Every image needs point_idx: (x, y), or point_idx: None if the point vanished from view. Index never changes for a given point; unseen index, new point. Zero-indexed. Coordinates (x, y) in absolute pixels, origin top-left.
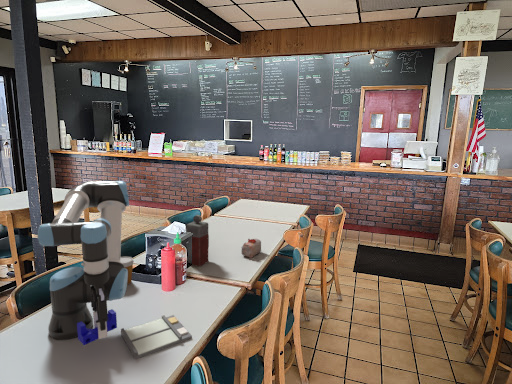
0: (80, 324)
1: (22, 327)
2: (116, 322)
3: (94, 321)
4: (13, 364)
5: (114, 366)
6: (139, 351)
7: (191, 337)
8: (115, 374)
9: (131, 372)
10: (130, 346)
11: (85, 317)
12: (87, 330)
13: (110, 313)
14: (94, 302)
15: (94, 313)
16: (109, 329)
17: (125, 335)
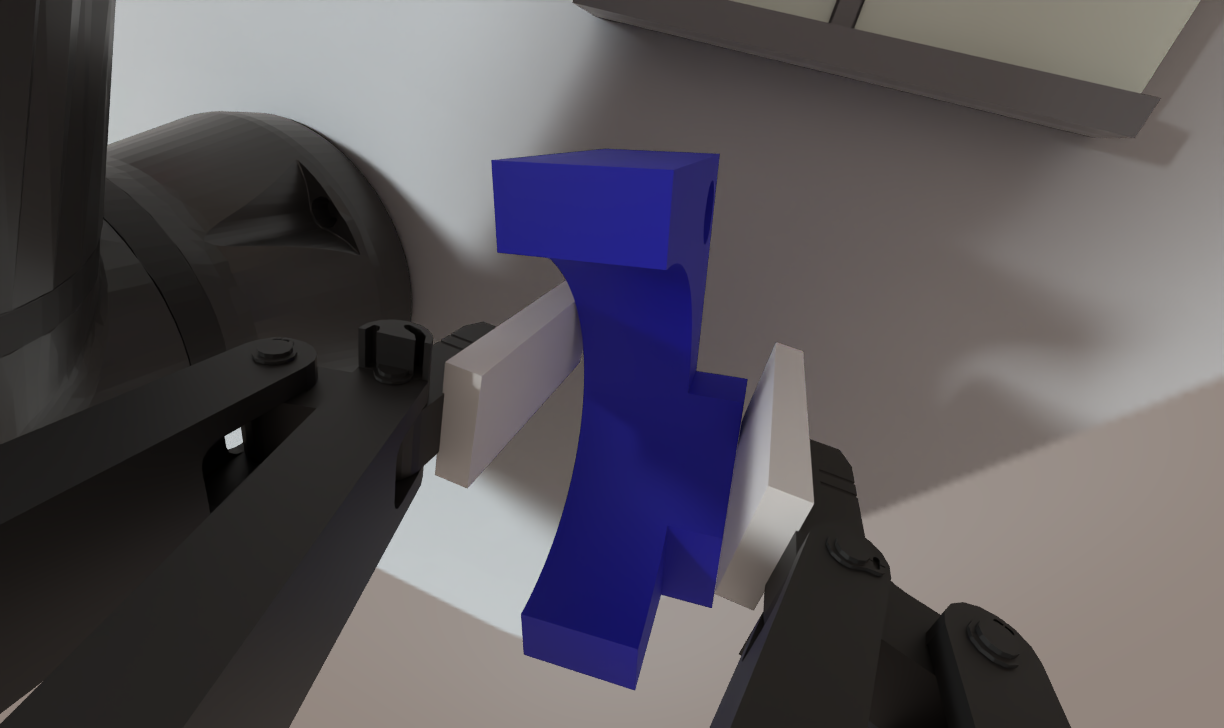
0: (583, 661)
1: None
2: (707, 161)
3: (535, 411)
4: (455, 582)
5: (966, 326)
6: (1109, 53)
7: None
8: (1068, 379)
9: (1221, 284)
10: (936, 92)
11: (266, 217)
12: (659, 559)
13: (607, 262)
14: (319, 661)
15: (472, 473)
16: (704, 265)
17: (721, 28)
